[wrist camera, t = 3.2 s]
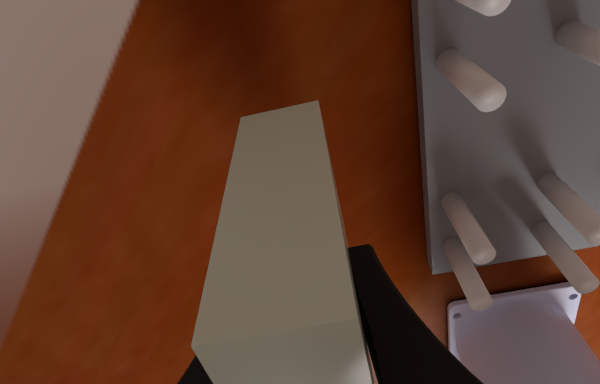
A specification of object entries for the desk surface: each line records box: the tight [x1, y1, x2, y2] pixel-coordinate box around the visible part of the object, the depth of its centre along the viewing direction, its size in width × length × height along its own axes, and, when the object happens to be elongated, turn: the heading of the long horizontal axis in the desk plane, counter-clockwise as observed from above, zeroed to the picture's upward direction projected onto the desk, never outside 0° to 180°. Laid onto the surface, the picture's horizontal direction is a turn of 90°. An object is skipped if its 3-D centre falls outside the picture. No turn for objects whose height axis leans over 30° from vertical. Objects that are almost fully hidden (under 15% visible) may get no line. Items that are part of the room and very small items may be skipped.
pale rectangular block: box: [191, 100, 375, 384], centre depth 11 cm, size 8×2×8 cm, turn 12°
